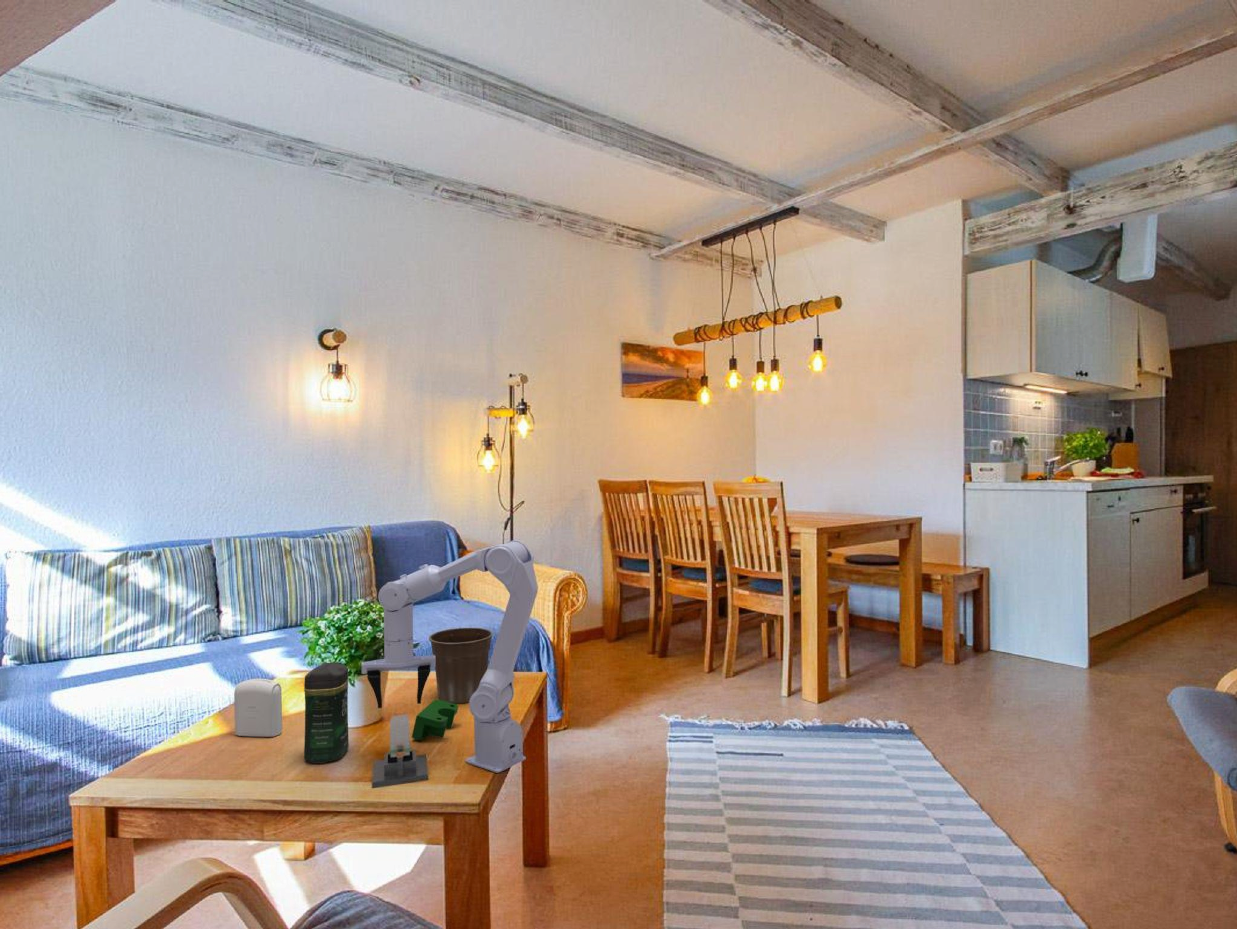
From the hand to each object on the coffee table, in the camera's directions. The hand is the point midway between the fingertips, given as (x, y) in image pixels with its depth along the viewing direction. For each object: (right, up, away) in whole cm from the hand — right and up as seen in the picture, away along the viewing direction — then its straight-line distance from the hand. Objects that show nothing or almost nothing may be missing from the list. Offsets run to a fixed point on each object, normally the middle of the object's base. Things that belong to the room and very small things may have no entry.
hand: (399, 704), depth 143 cm
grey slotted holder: (+3, -10, -9) cm, 14 cm away
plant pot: (+5, -11, +37) cm, 39 cm away
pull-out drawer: (+3, -6, -9) cm, 11 cm away
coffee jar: (-15, -11, +1) cm, 19 cm away
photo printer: (-36, -11, +13) cm, 40 cm away
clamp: (+4, -11, +12) cm, 17 cm away
